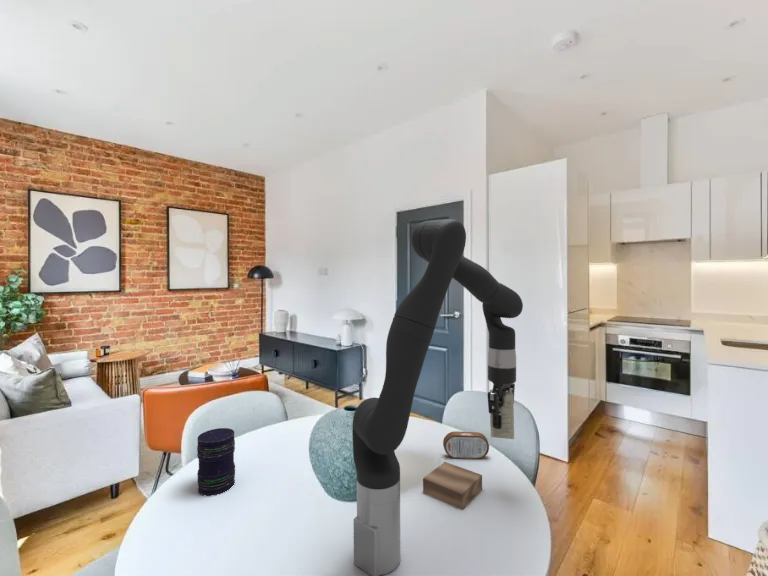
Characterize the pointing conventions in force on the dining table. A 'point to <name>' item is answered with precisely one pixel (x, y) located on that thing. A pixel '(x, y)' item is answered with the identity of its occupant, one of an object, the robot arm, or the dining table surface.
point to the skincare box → (505, 420)
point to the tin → (466, 445)
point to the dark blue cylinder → (216, 461)
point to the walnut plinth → (452, 484)
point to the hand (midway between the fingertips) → (501, 424)
